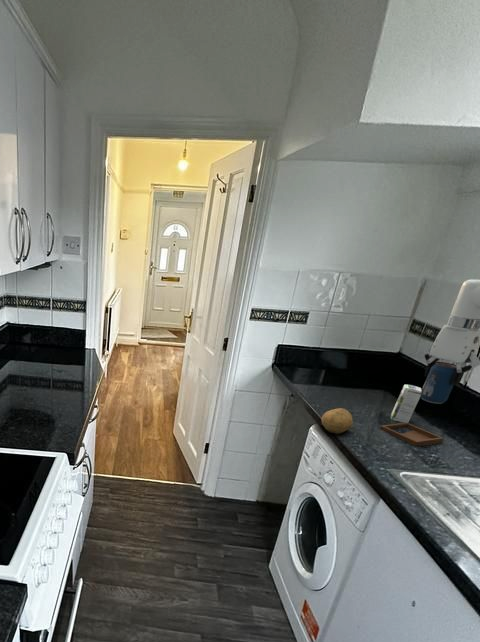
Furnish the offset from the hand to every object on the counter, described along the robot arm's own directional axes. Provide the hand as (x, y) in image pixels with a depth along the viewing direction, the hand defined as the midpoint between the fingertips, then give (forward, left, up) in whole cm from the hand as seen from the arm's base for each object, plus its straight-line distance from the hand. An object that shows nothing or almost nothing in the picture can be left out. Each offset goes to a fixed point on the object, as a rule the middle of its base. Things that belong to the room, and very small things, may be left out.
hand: (440, 379), depth 130 cm
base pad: (+9, -12, -26) cm, 30 cm away
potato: (+19, +14, -26) cm, 35 cm away
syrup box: (+21, -22, -26) cm, 40 cm away
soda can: (0, 0, -7) cm, 7 cm away
